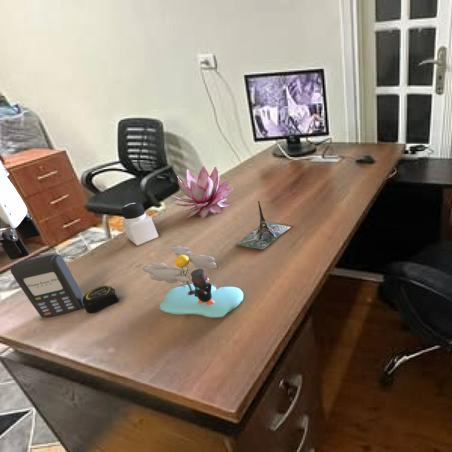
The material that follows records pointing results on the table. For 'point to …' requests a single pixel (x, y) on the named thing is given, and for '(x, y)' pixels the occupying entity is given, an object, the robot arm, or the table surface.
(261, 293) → the table surface
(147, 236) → the medicine bottle
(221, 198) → the decorative flower
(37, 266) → the card reader
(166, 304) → the penguin figurine
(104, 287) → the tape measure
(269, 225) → the eiffel tower figurine
